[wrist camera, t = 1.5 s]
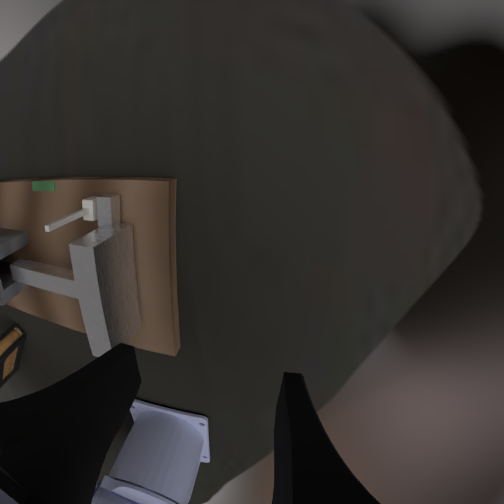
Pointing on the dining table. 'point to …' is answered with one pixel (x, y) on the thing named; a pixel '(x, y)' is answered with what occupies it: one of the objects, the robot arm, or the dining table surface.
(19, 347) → the ammunition clip
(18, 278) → the grey angular piece
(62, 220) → the rod
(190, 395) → the dining table surface
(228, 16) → the dining table surface
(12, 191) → the frame
